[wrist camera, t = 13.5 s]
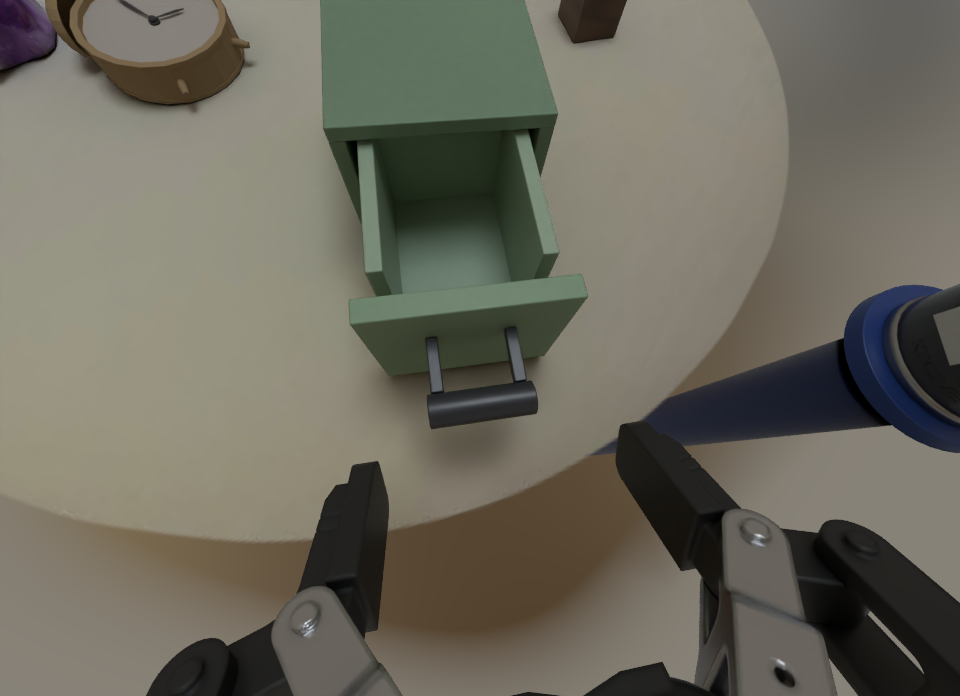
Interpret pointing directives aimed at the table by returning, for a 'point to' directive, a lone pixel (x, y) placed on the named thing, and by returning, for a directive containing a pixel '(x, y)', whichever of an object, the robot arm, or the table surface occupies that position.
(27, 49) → the figurine
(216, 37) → the alarm clock
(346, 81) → the cabinet
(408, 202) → the drawer
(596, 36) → the block
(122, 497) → the table surface
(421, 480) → the table surface
